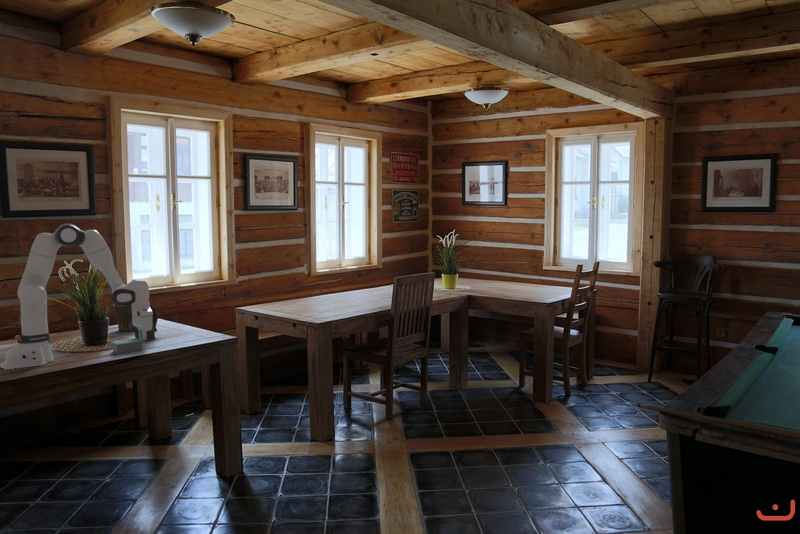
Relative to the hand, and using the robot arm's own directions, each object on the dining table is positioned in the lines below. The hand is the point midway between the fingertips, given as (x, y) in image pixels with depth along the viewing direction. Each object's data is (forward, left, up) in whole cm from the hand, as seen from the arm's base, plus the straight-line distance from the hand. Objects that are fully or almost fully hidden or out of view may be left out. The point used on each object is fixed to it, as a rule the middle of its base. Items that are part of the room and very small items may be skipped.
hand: (142, 336), depth 325 cm
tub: (-8, 0, -7) cm, 10 cm away
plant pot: (+11, +58, -7) cm, 59 cm away
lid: (-6, 0, -2) cm, 7 cm away
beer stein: (+10, +23, -7) cm, 26 cm away
